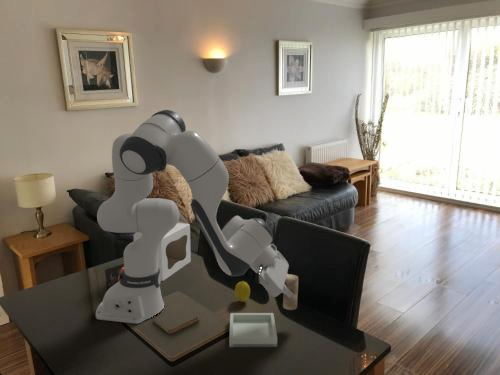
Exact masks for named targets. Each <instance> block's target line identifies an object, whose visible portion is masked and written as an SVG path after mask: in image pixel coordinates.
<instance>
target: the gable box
mask: <svg viewBox="0 0 500 375" xmlns="http://www.w3.org/2000/svg"><path fill="white" fill-rule="evenodd" d="M140 237H142V233H140V232H134V233H133V241H135V240H137V239H139V238H140ZM191 257H192V256H191V224H190V223H189V221H188V220H187V219H186V217H185V215H184V214H183V212H182V211H181V210H180V209H179V220H178V222H177V224H176V226H175V227H174V228H173V229H171V230H170V231H169V232H168V233H167V234H166V235H165V236H164V238H163V239H162V241H161V243H160V246H159V253H158V267H159V269H160V278H161V282H164V281H165V280H167V279H168V278H169V277H171V276H172V275H174V274H175V273H176V272H179V270H181V269H182V268H184V267H185V266H186V265H188V264H190V263H191V261H192V260H191V259H192V258H191Z"/></svg>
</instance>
